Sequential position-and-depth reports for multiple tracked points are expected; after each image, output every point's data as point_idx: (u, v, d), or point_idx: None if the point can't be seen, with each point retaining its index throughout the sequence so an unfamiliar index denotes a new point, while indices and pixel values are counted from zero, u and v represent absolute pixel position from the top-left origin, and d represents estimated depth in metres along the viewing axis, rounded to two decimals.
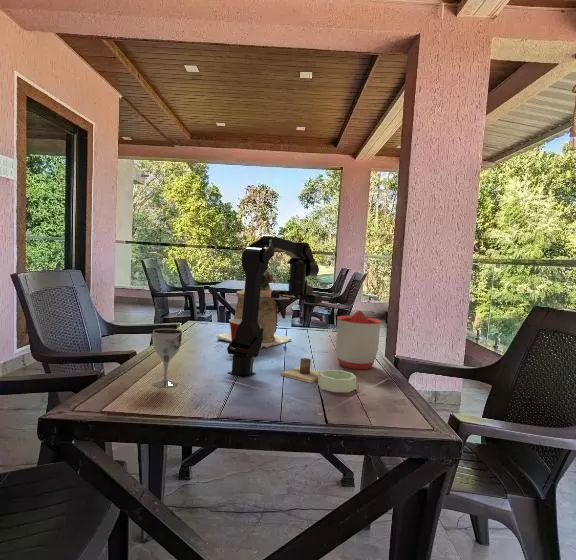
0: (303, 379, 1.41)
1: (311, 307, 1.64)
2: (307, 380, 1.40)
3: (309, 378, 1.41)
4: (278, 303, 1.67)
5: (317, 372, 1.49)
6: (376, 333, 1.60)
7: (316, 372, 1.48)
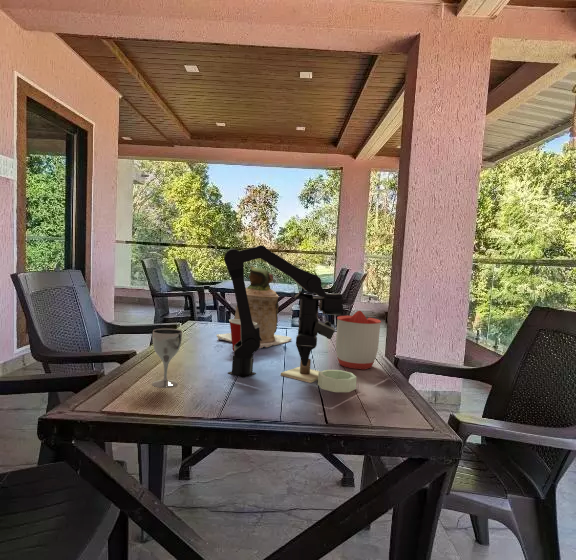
0: (303, 379, 1.41)
1: (308, 350, 1.40)
2: (307, 380, 1.40)
3: (309, 378, 1.41)
4: None
5: (317, 372, 1.49)
6: (376, 333, 1.60)
7: (316, 372, 1.48)
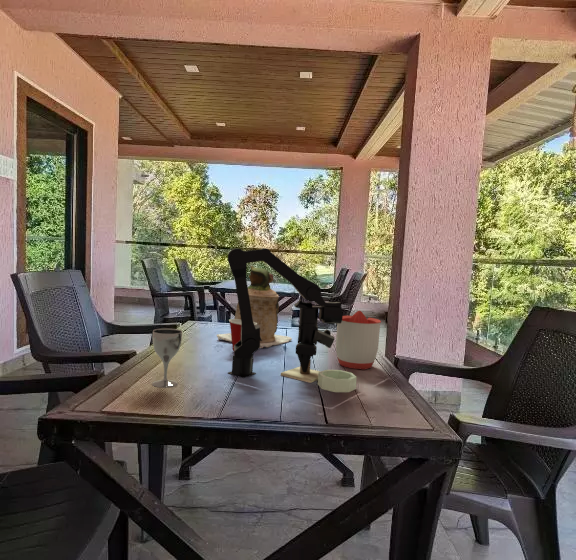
0: (303, 379, 1.41)
1: (308, 356, 1.43)
2: (307, 380, 1.40)
3: (309, 378, 1.41)
4: None
5: (317, 372, 1.49)
6: (376, 333, 1.60)
7: (316, 372, 1.48)
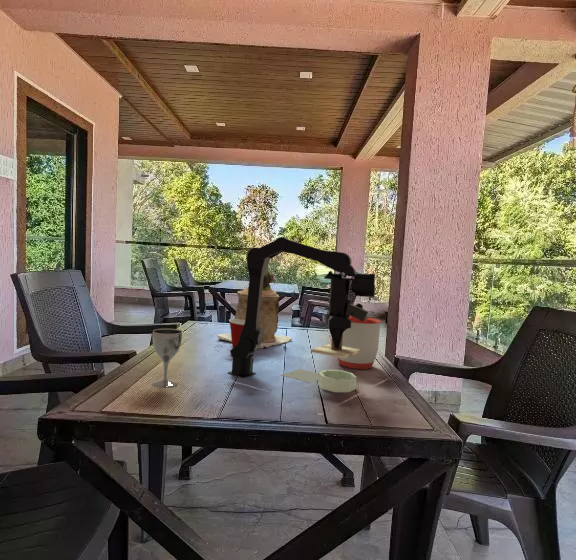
0: (336, 355, 1.32)
1: (341, 331, 1.34)
2: (341, 355, 1.31)
3: (343, 353, 1.32)
4: None
5: (349, 348, 1.40)
6: (376, 333, 1.60)
7: (348, 348, 1.40)
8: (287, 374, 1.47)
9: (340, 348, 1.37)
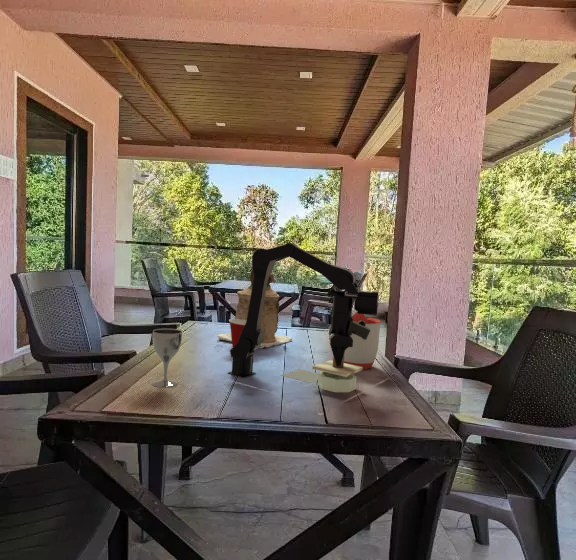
0: (338, 373, 1.31)
1: (343, 349, 1.33)
2: (342, 374, 1.30)
3: (344, 372, 1.31)
4: None
5: (351, 366, 1.39)
6: (376, 333, 1.60)
7: (350, 366, 1.39)
8: (287, 374, 1.47)
9: (342, 366, 1.36)
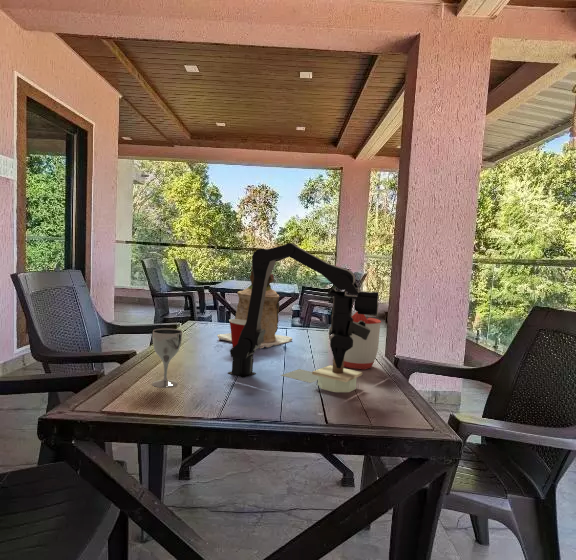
0: (337, 378, 1.31)
1: (343, 351, 1.31)
2: (342, 379, 1.30)
3: (344, 377, 1.31)
4: None
5: (350, 371, 1.39)
6: (376, 333, 1.60)
7: (349, 371, 1.39)
8: (287, 374, 1.47)
9: (341, 371, 1.36)
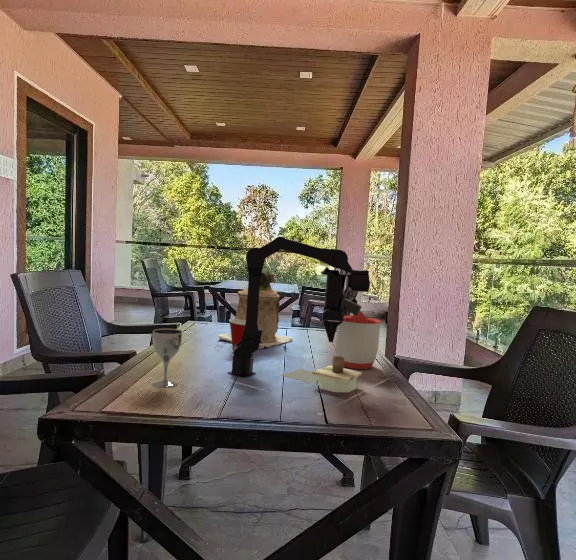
0: (337, 378, 1.31)
1: (335, 325, 1.39)
2: (342, 379, 1.30)
3: (344, 377, 1.31)
4: None
5: (350, 371, 1.39)
6: (376, 333, 1.60)
7: (349, 371, 1.39)
8: (287, 374, 1.47)
9: (341, 371, 1.36)
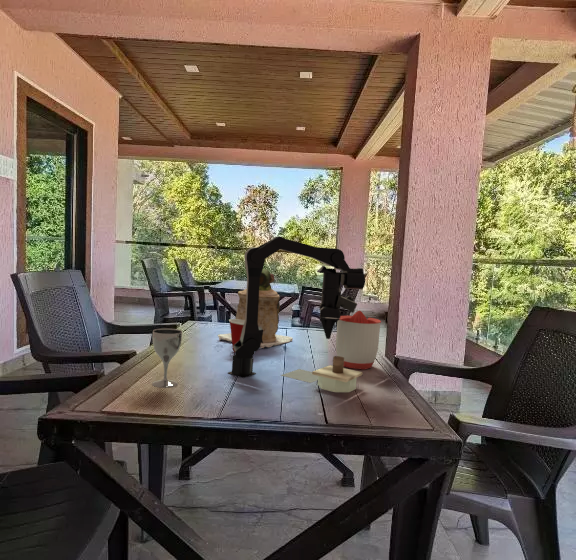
0: (337, 378, 1.31)
1: (332, 322, 1.42)
2: (342, 379, 1.30)
3: (344, 377, 1.31)
4: None
5: (350, 371, 1.39)
6: (376, 333, 1.60)
7: (349, 371, 1.39)
8: (287, 374, 1.47)
9: (341, 371, 1.36)
